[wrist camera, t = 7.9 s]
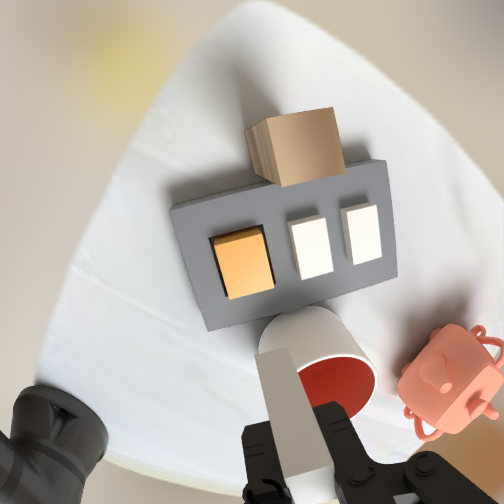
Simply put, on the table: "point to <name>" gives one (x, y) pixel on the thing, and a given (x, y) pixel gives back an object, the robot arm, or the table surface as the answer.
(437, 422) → the teapot
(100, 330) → the table surface
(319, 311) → the cup
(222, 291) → the panel
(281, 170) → the oak post
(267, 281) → the orange rectangular block
